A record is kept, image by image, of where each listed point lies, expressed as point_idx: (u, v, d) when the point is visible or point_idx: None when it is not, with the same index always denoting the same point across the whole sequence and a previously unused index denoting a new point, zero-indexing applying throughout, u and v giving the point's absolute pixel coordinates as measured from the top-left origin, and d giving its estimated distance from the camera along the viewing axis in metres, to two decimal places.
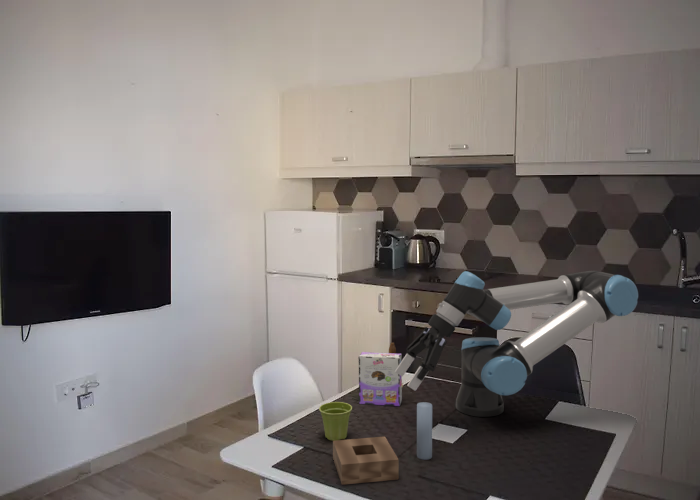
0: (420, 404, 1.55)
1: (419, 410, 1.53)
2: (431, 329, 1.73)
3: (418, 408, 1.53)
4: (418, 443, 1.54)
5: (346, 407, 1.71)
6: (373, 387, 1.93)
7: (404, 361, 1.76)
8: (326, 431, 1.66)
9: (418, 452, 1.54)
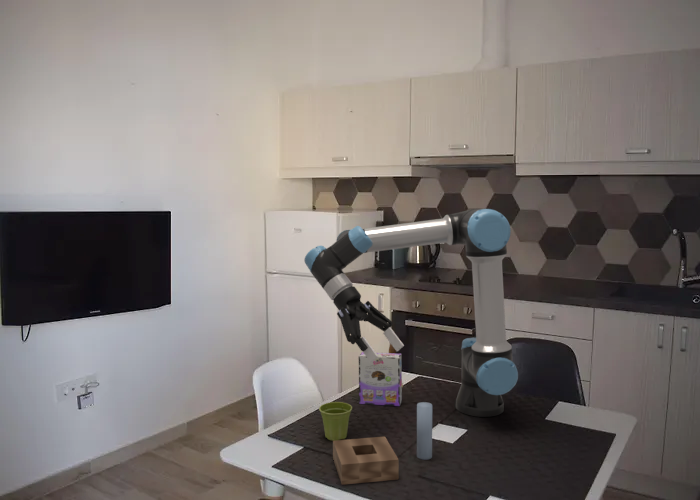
0: (420, 404, 1.55)
1: (419, 410, 1.53)
2: None
3: (418, 408, 1.53)
4: (418, 443, 1.54)
5: (346, 407, 1.71)
6: (373, 387, 1.93)
7: (389, 338, 1.66)
8: (326, 431, 1.66)
9: (418, 452, 1.54)
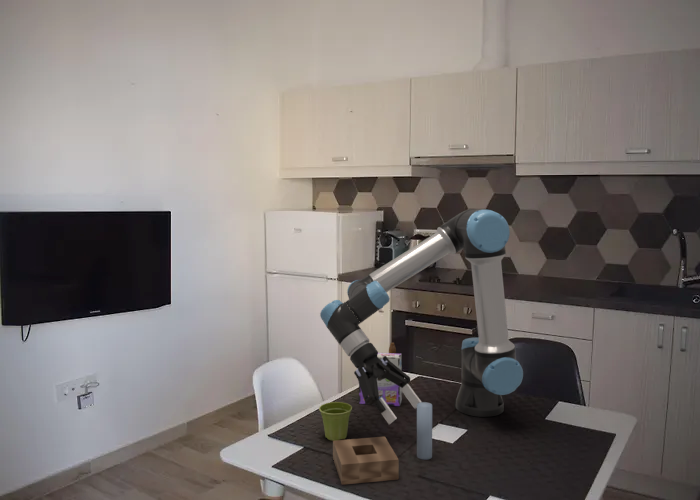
0: (420, 404, 1.55)
1: (419, 410, 1.53)
2: None
3: (418, 408, 1.53)
4: (418, 443, 1.54)
5: (346, 407, 1.71)
6: None
7: (406, 395, 1.64)
8: (326, 431, 1.66)
9: (418, 452, 1.54)
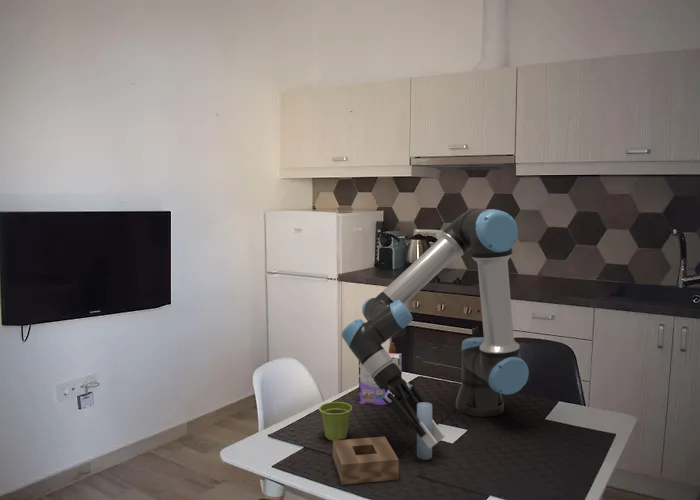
0: (420, 404, 1.55)
1: (419, 410, 1.53)
2: None
3: (418, 408, 1.53)
4: (418, 443, 1.54)
5: (346, 407, 1.71)
6: (373, 387, 1.93)
7: None
8: (326, 431, 1.66)
9: (418, 452, 1.54)
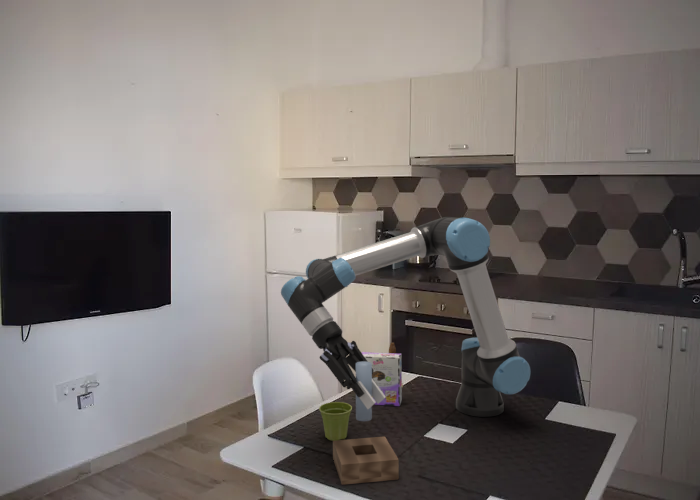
0: (359, 363, 1.46)
1: (357, 368, 1.45)
2: None
3: (356, 367, 1.45)
4: (357, 404, 1.46)
5: (346, 407, 1.71)
6: None
7: None
8: (326, 431, 1.66)
9: (357, 413, 1.46)
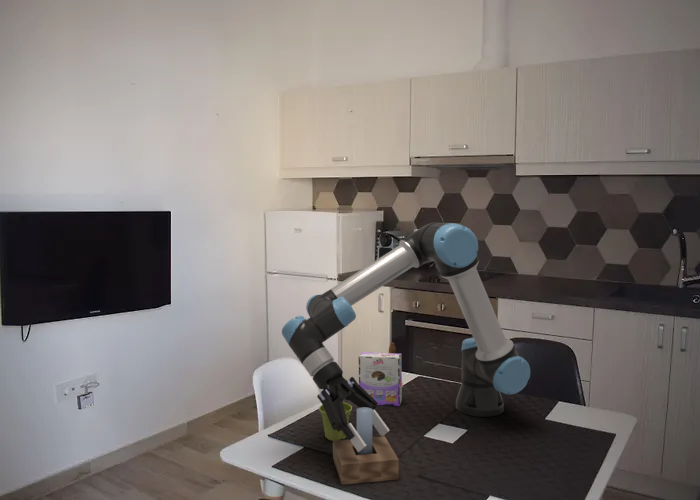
0: (360, 409, 1.48)
1: (358, 415, 1.46)
2: None
3: (357, 413, 1.47)
4: None
5: (346, 407, 1.71)
6: (373, 387, 1.93)
7: (373, 422, 1.52)
8: (326, 431, 1.66)
9: None
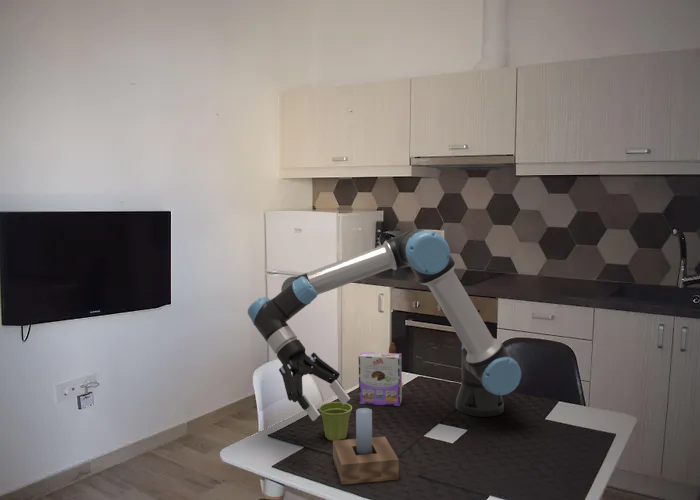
0: (359, 410, 1.48)
1: (358, 416, 1.46)
2: None
3: (357, 414, 1.46)
4: (357, 451, 1.47)
5: (346, 407, 1.71)
6: (373, 387, 1.93)
7: (335, 391, 1.62)
8: (326, 431, 1.66)
9: None
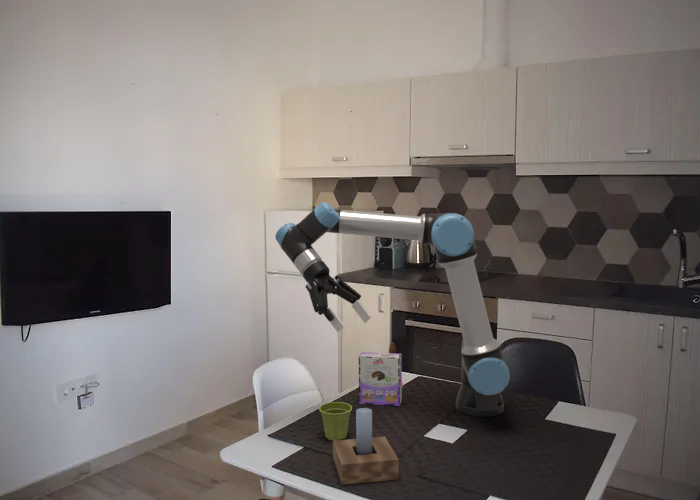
0: (359, 410, 1.48)
1: (358, 416, 1.46)
2: None
3: (357, 414, 1.46)
4: (357, 451, 1.47)
5: (346, 407, 1.71)
6: (373, 387, 1.93)
7: (357, 310, 1.73)
8: (326, 431, 1.66)
9: None
